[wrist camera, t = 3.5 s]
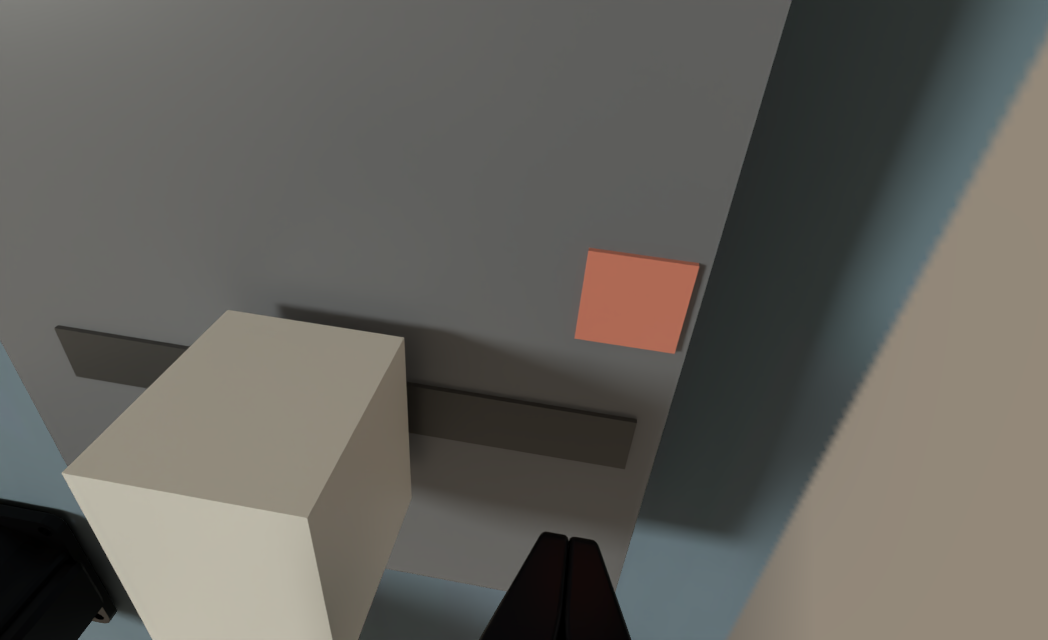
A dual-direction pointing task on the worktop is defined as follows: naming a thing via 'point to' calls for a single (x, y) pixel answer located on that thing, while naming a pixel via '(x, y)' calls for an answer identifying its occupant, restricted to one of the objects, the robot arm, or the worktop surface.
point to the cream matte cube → (256, 482)
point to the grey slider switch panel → (389, 223)
